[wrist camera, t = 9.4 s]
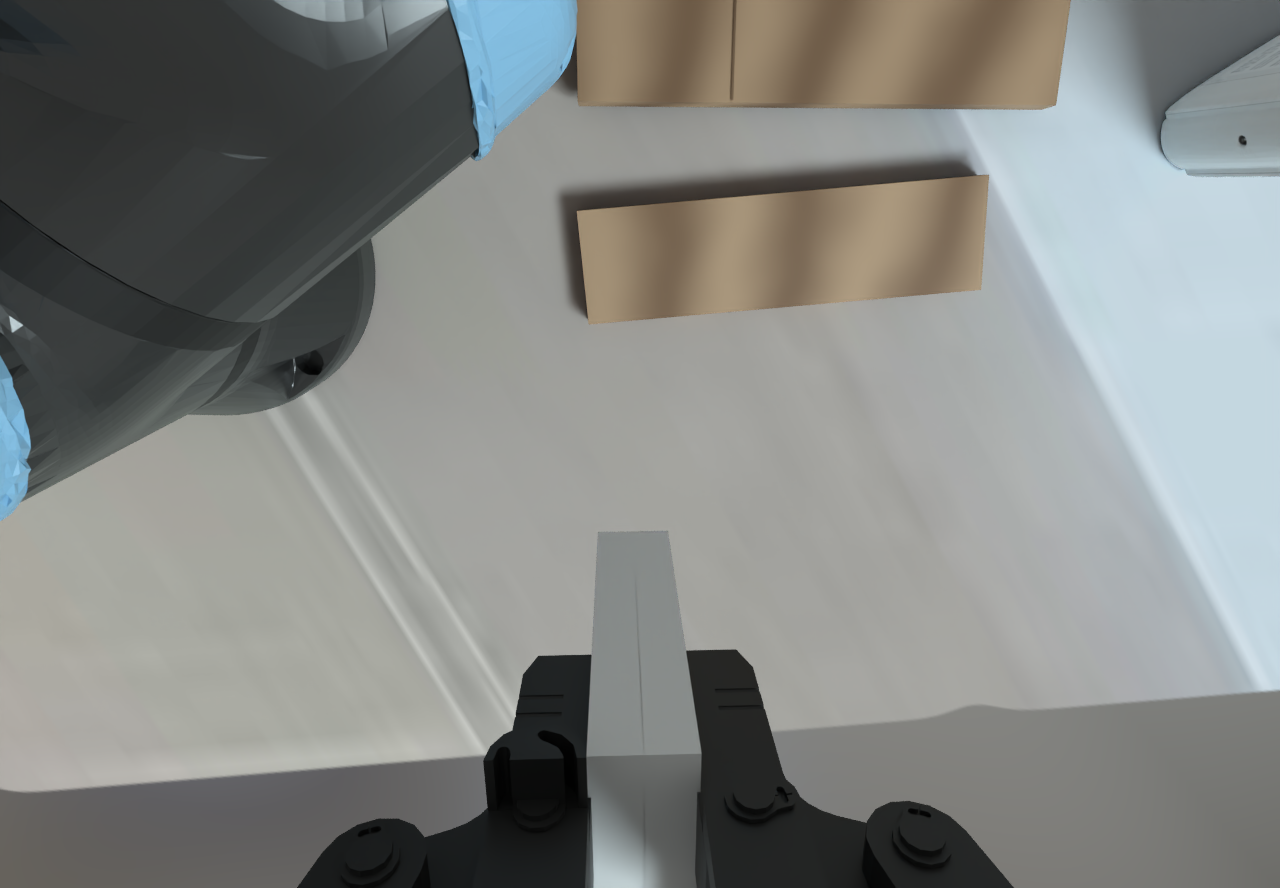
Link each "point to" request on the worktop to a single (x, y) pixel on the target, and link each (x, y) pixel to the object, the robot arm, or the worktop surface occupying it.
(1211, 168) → the photo printer
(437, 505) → the worktop surface
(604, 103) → the plank
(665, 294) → the plank
